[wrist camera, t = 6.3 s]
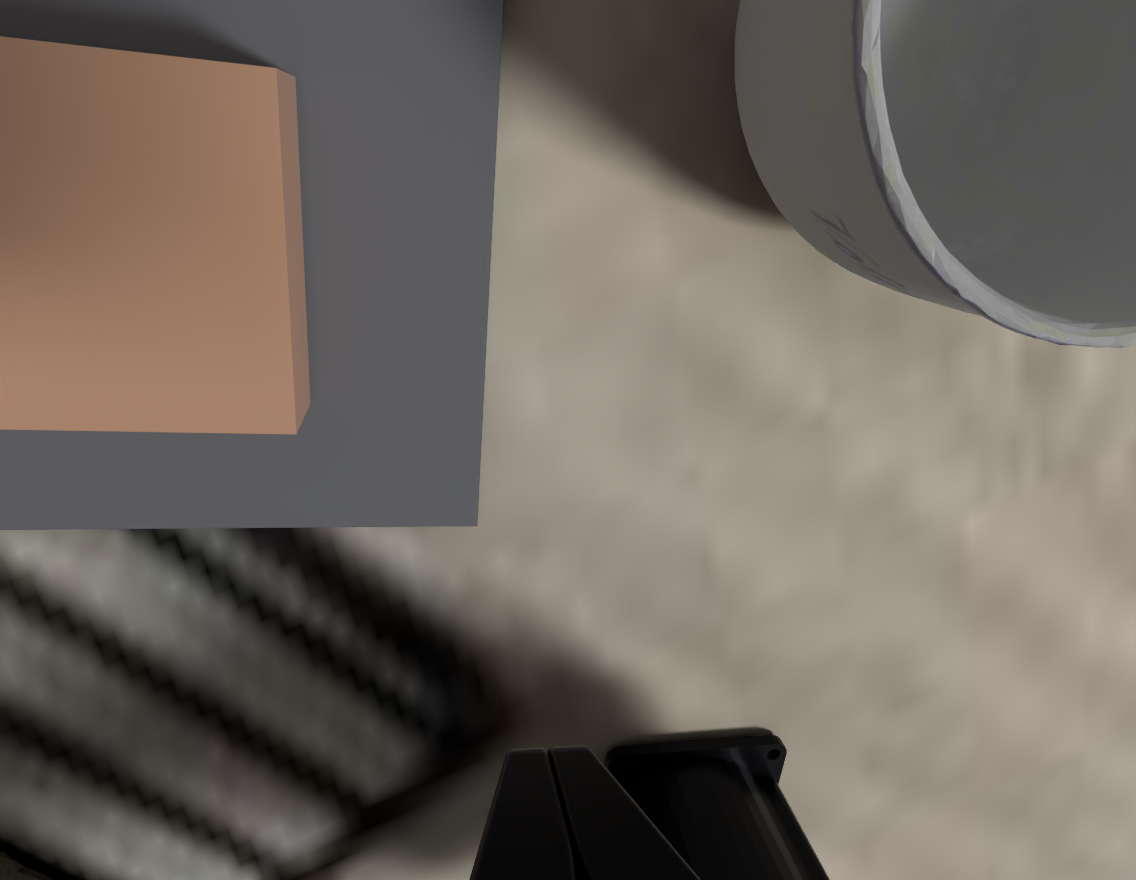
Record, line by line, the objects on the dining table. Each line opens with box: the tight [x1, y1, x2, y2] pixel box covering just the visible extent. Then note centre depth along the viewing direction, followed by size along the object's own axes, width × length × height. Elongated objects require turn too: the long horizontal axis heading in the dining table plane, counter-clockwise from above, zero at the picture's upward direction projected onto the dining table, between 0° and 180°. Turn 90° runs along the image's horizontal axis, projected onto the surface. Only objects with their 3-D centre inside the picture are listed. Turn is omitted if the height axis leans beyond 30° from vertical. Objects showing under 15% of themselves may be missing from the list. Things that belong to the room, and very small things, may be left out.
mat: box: [0, 0, 504, 530], centre depth 15 cm, size 16×14×1 cm
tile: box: [0, 36, 310, 434], centre depth 14 cm, size 2×7×8 cm
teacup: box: [735, 0, 1136, 348], centre depth 14 cm, size 14×11×8 cm
